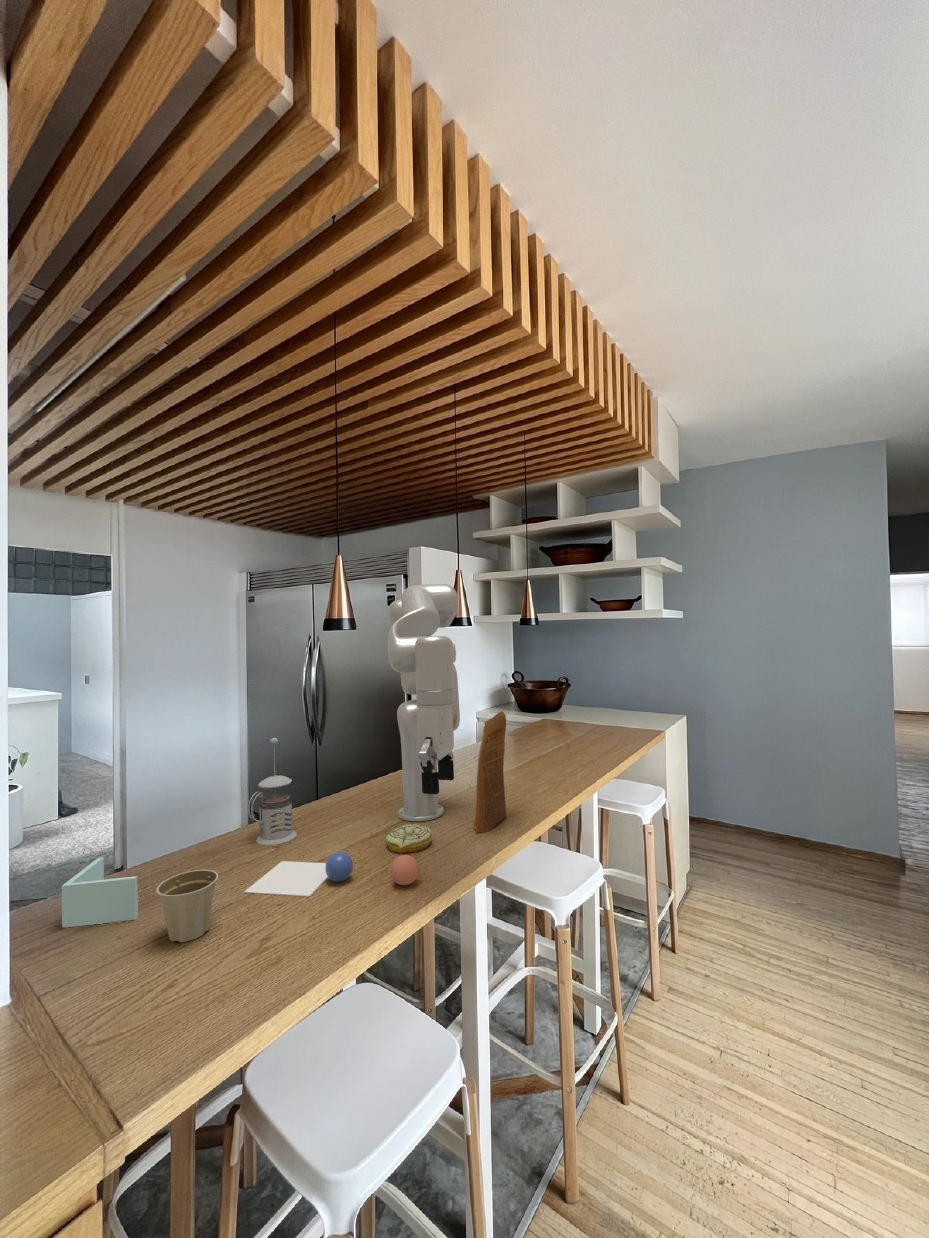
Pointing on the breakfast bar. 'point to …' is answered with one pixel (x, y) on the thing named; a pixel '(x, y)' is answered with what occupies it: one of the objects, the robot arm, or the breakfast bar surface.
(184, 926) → the flower pot
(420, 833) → the decorated donut
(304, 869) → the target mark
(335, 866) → the blue ball
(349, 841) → the breakfast bar surface
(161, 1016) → the breakfast bar surface
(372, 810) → the breakfast bar surface
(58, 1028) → the breakfast bar surface
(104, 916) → the right angle wall
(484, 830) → the pancake mix bag
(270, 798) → the french press
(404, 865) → the pink smooth round ball
